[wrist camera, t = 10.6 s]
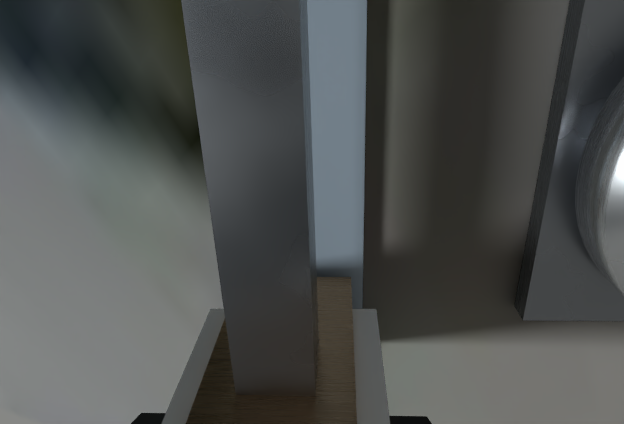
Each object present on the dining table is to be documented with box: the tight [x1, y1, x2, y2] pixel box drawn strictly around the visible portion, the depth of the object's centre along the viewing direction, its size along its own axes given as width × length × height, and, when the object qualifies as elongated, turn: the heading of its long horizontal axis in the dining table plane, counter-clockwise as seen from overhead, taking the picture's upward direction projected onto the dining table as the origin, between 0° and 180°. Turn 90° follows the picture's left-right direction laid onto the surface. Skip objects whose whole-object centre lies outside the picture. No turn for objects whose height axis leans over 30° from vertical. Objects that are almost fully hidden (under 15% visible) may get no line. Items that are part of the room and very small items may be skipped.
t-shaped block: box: [307, 0, 367, 309], centre depth 10 cm, size 22×9×9 cm, turn 2°
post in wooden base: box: [181, 0, 357, 424], centre depth 8 cm, size 18×4×9 cm, turn 2°
